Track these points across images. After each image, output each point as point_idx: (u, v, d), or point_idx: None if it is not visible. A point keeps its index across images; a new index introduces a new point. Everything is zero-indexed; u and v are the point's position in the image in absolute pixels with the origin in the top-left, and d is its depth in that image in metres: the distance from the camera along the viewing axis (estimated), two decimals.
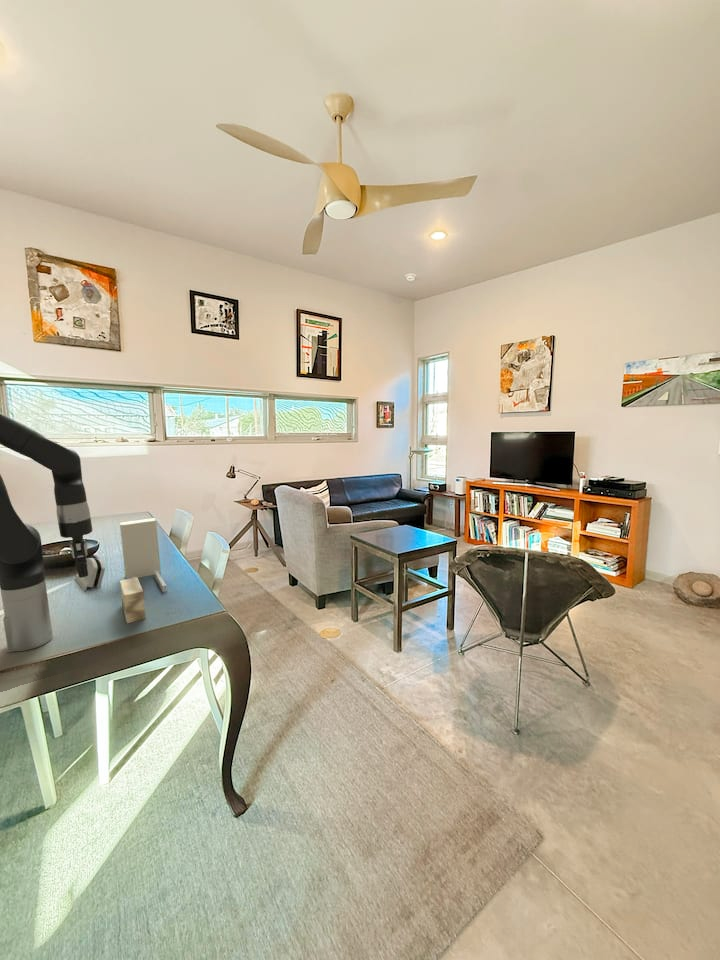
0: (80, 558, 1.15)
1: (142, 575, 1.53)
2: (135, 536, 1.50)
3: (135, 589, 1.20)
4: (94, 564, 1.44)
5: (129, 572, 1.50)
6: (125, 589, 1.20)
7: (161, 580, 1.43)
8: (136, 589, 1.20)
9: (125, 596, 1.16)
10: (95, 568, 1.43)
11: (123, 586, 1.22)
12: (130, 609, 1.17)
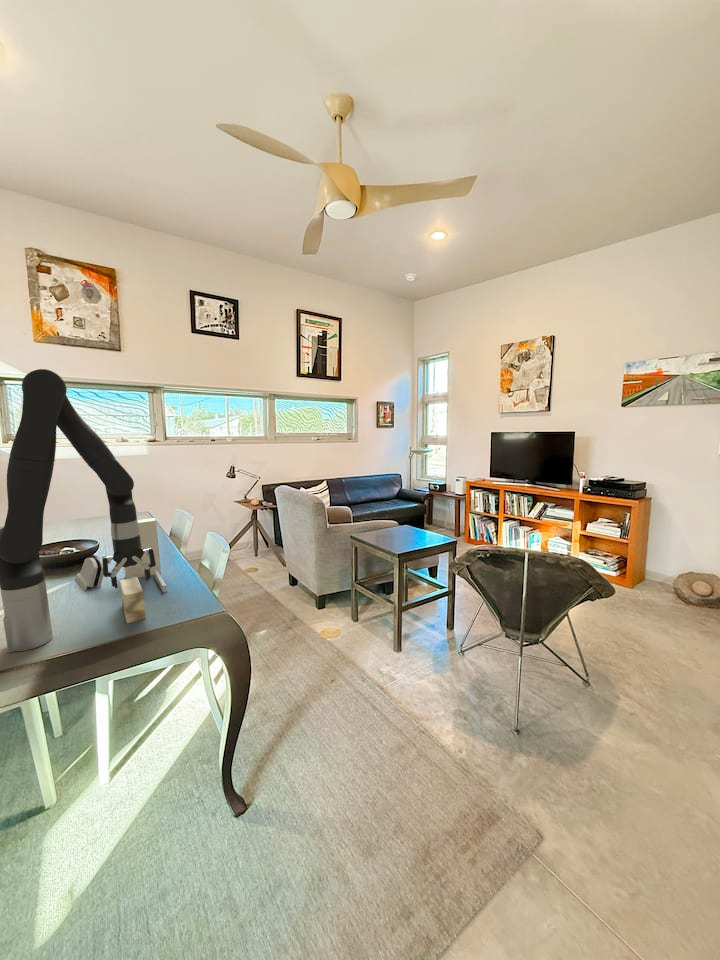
0: None
1: (142, 575, 1.53)
2: None
3: (135, 589, 1.20)
4: (94, 564, 1.45)
5: (129, 572, 1.50)
6: (125, 589, 1.20)
7: (161, 580, 1.43)
8: (136, 589, 1.20)
9: (125, 596, 1.16)
10: (95, 568, 1.43)
11: (123, 586, 1.22)
12: (130, 609, 1.17)
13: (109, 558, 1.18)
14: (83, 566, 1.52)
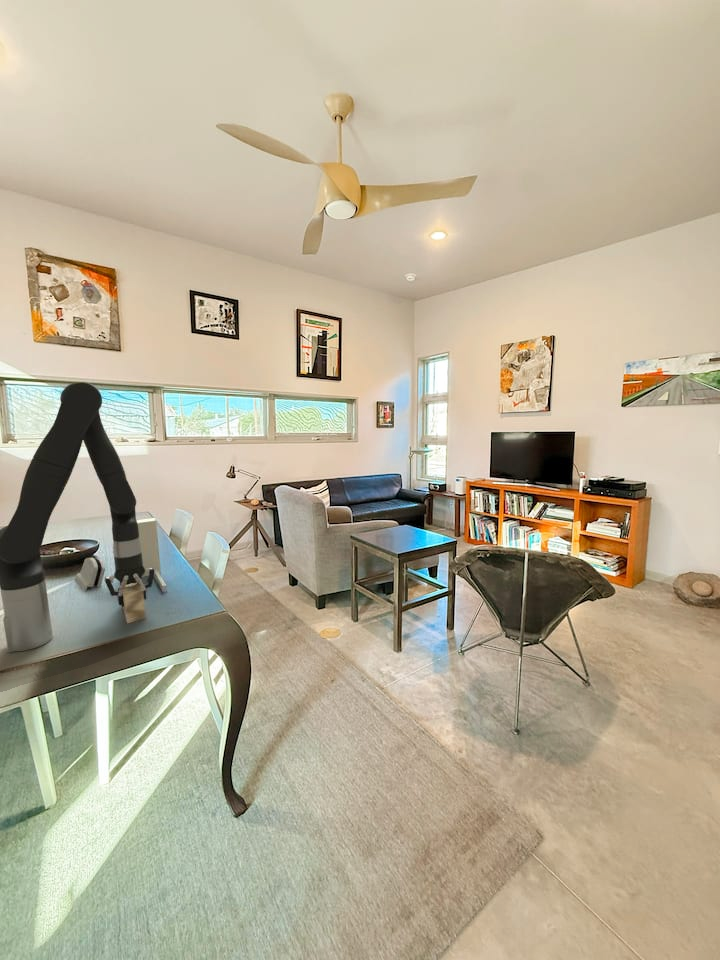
0: None
1: None
2: None
3: (135, 589, 1.20)
4: (94, 564, 1.45)
5: None
6: (125, 589, 1.20)
7: (161, 580, 1.43)
8: (136, 589, 1.20)
9: (125, 596, 1.16)
10: (95, 568, 1.43)
11: None
12: (130, 609, 1.17)
13: (111, 577, 1.19)
14: (83, 566, 1.52)
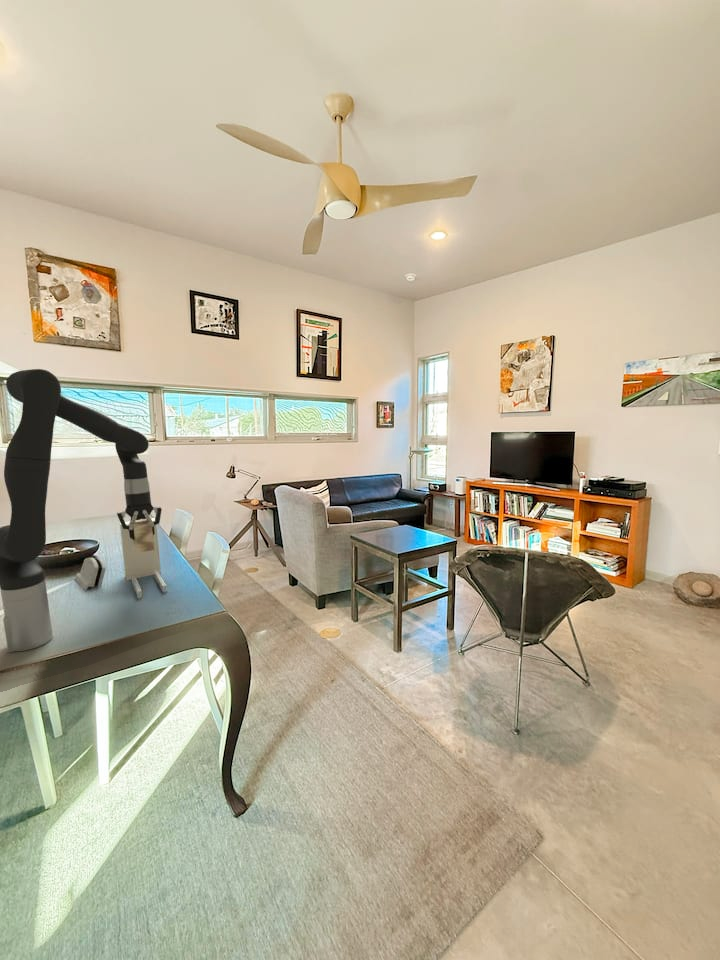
0: (133, 531, 1.34)
1: (142, 575, 1.53)
2: None
3: (144, 523, 1.33)
4: (95, 564, 1.45)
5: (129, 572, 1.50)
6: (136, 523, 1.33)
7: (161, 580, 1.43)
8: (145, 523, 1.32)
9: (135, 528, 1.29)
10: (96, 568, 1.43)
11: None
12: (140, 540, 1.30)
13: (122, 512, 1.32)
14: (83, 566, 1.52)
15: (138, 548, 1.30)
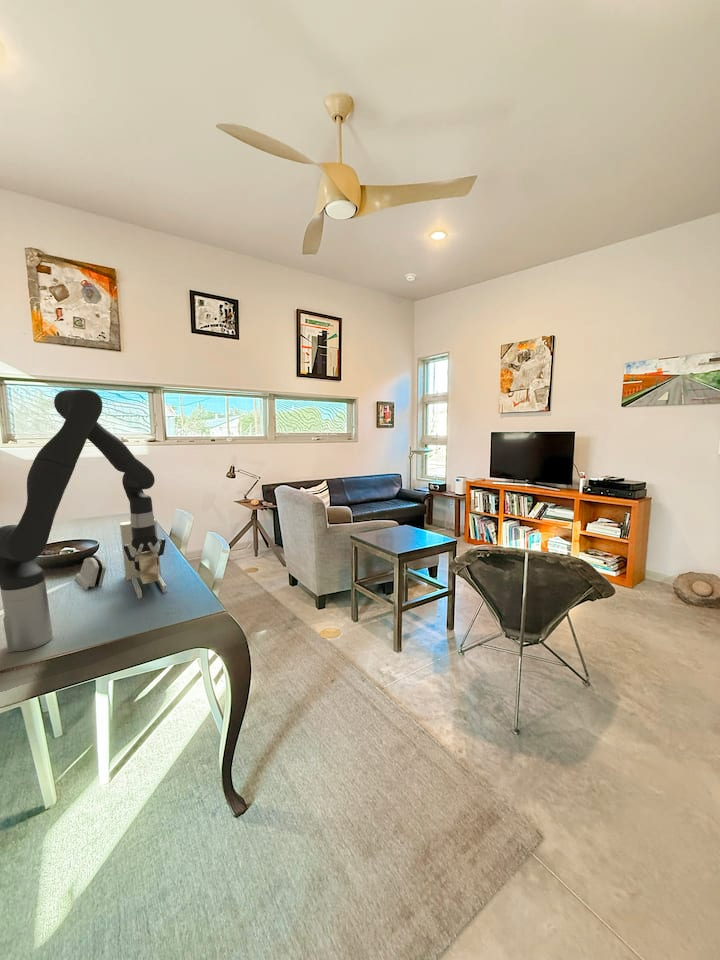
0: (138, 562, 1.40)
1: None
2: None
3: (149, 555, 1.39)
4: (95, 564, 1.45)
5: (129, 572, 1.50)
6: (141, 555, 1.39)
7: (161, 580, 1.43)
8: (150, 555, 1.38)
9: (141, 560, 1.35)
10: (96, 567, 1.44)
11: None
12: (145, 571, 1.36)
13: (128, 545, 1.38)
14: (83, 566, 1.52)
15: (143, 579, 1.36)
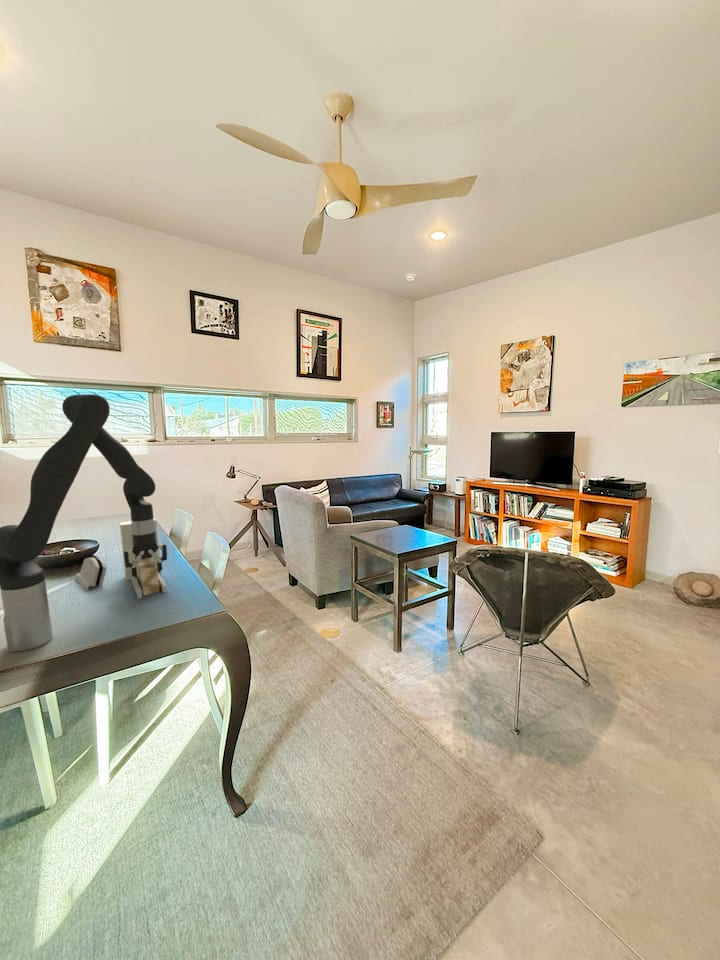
0: None
1: None
2: None
3: (150, 566, 1.39)
4: (95, 563, 1.45)
5: (129, 572, 1.50)
6: (142, 566, 1.39)
7: (161, 580, 1.43)
8: (151, 567, 1.39)
9: (142, 572, 1.35)
10: (97, 567, 1.44)
11: (139, 564, 1.41)
12: (146, 583, 1.36)
13: (129, 551, 1.38)
14: (83, 566, 1.52)
15: (144, 591, 1.36)
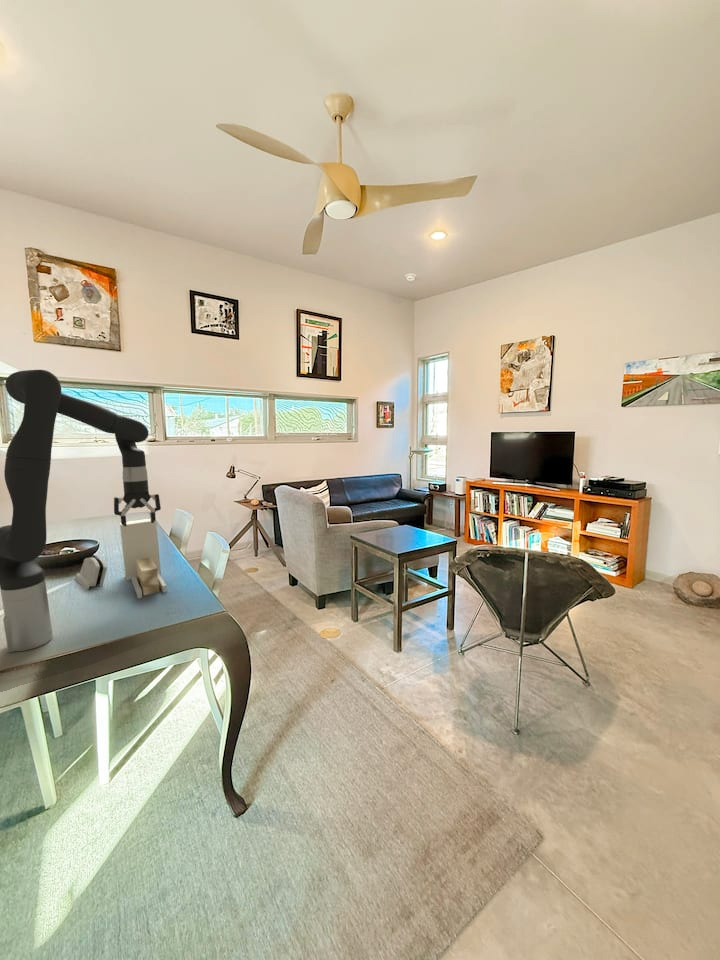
0: (125, 517, 1.35)
1: None
2: (135, 536, 1.50)
3: (150, 566, 1.39)
4: (96, 563, 1.45)
5: (129, 572, 1.50)
6: (142, 566, 1.39)
7: (161, 580, 1.43)
8: (151, 567, 1.39)
9: (142, 572, 1.35)
10: (97, 567, 1.44)
11: (139, 564, 1.41)
12: (146, 583, 1.36)
13: (120, 498, 1.33)
14: (83, 566, 1.52)
15: (144, 591, 1.36)
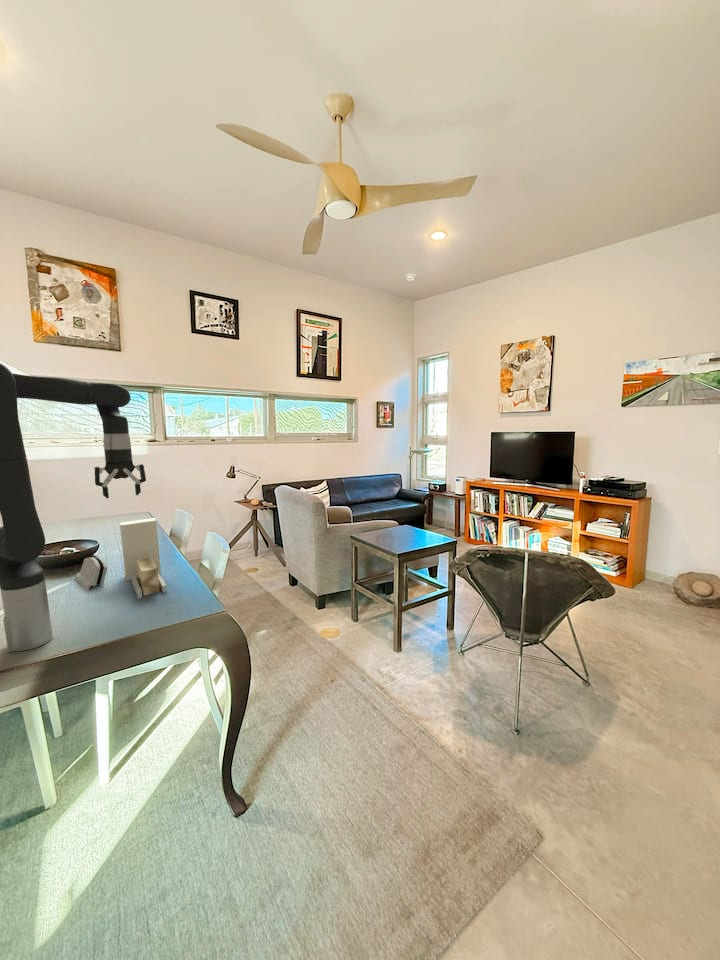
0: (107, 488, 1.25)
1: None
2: (135, 536, 1.50)
3: (150, 566, 1.39)
4: (96, 563, 1.45)
5: (129, 572, 1.50)
6: (142, 566, 1.39)
7: (161, 580, 1.43)
8: (151, 567, 1.39)
9: (142, 572, 1.35)
10: (98, 567, 1.44)
11: (140, 564, 1.41)
12: (146, 583, 1.36)
13: (101, 468, 1.24)
14: (83, 566, 1.52)
15: (144, 591, 1.36)
